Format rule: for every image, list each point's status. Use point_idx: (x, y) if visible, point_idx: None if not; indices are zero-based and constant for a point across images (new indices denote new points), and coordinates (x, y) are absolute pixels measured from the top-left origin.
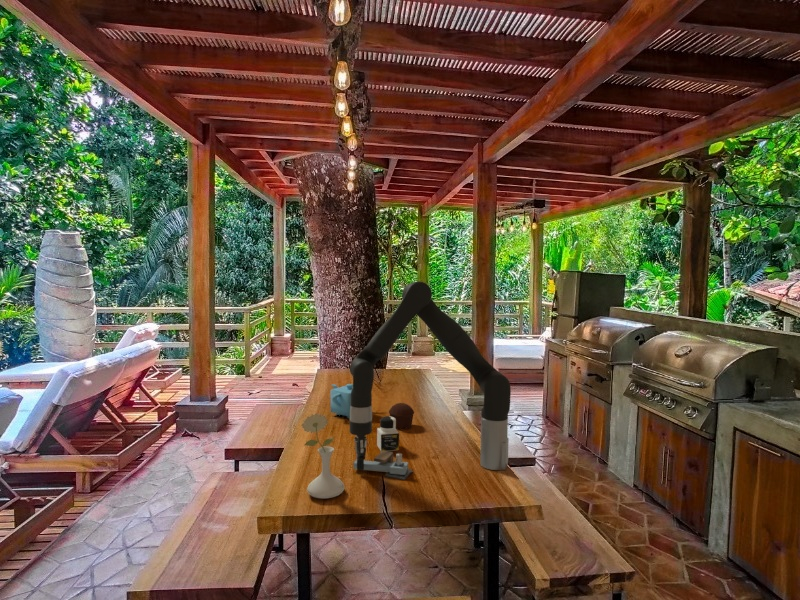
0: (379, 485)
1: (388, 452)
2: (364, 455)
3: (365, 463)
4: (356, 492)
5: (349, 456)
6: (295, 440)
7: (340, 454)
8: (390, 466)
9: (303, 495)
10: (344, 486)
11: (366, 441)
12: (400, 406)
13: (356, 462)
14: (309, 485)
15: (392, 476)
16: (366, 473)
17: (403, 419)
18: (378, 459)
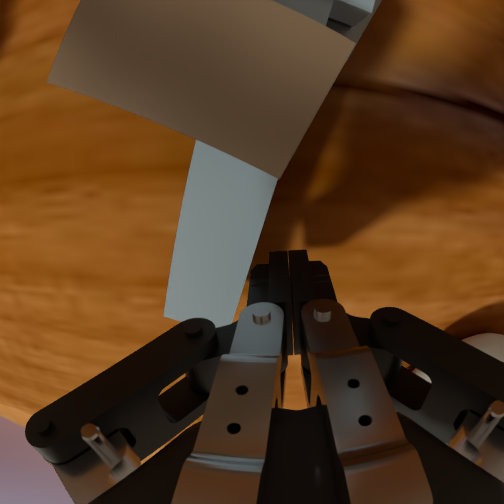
0: (467, 134)
1: (95, 7)
2: (467, 352)
3: (242, 245)
4: (495, 269)
5: (36, 303)
6: (15, 421)
7: (33, 337)
8: (353, 3)
9: None
10: (486, 338)
11: (428, 500)
12: None
13: (218, 314)
14: None
15: (371, 15)
16: (271, 206)
17: None
18: (309, 120)
